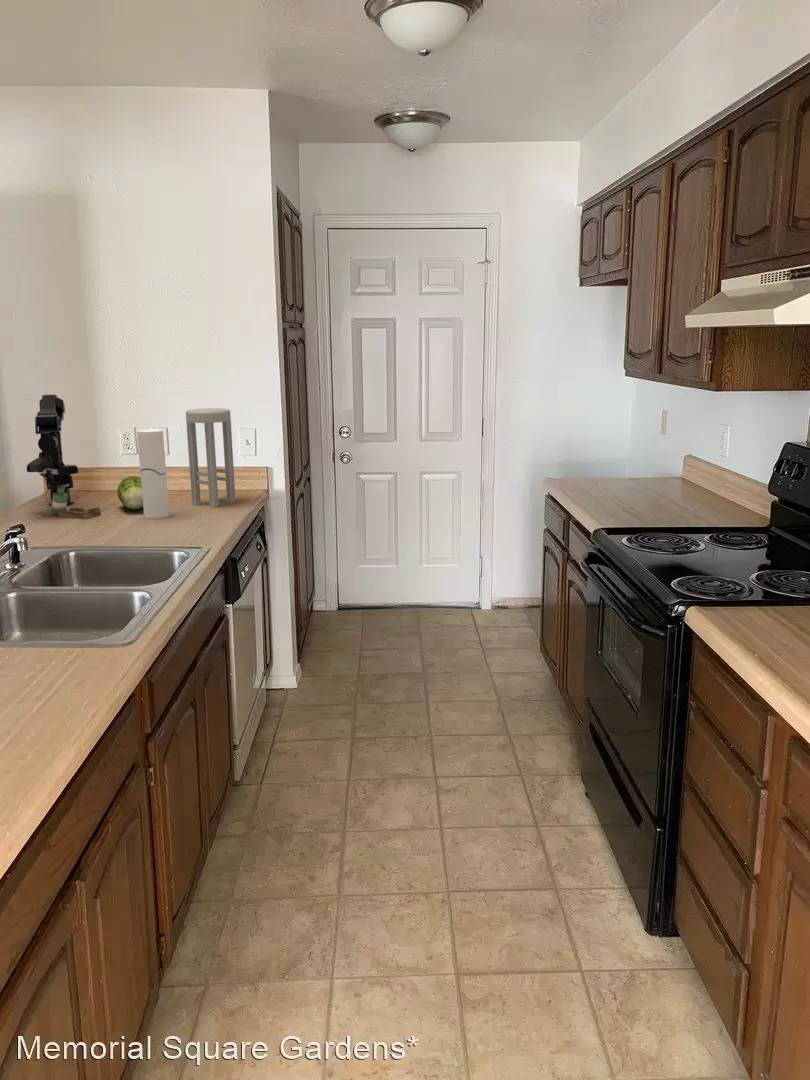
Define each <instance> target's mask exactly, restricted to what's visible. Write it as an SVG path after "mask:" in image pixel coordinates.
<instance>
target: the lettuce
mask: <svg viewBox="0 0 810 1080" xmlns="http://www.w3.org/2000/svg"><path fill="white" fill-rule="evenodd" d="M116 491H117V498H118V500H119V501H120V502H121V504H122V506H124V507H125V508H128V509H129V510H140V509H142V508H143V497H142V485H141V476H140V477H139V476H136V475H135V476H134V475H132V476H131V475H130V476H128V477H126V478H123V479H122V480H121V481H120V483H118V485H117V489H116Z"/></svg>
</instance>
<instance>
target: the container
mask: <svg viewBox="0 0 810 1080" xmlns="http://www.w3.org/2000/svg"><path fill="white" fill-rule="evenodd" d="M136 436H137V449H138V459H139V460H138V461H139V470H140V471H139V472H140V473H139V474H140V478H141V485H142V497H143V507H142V508H143V517H144V518H145V519H149V520H150V519H153V520H155V519H156V520H157V519H164V518H168V517H170V505H169V493H168V492H169V490H168V479H167V477H168V476H167V467H166V465H167V464H166V455H165V452H166V451H165V443H164V442H165V441H164V430H163V429H156V428H155V429H153V428H152V429H151V428H150V429H140V430H136Z"/></svg>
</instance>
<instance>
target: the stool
mask: <svg viewBox="0 0 810 1080" xmlns="http://www.w3.org/2000/svg"><path fill="white" fill-rule="evenodd" d="M231 417H232V415H231V410H230V409H228V408H221V407H219V408H217V407H216V408H214V407H213V408H212V407H211V408H210V407H209V408H194V409H188V410H185V420H186V422H185V423H186V435H187V436H186V437H187V449H188V452H187V453H188V463H189V464H188V466H189V478H190V492H191V493H190V494H191V504H192V505H193V506H194V505H195V506H198V505H202V499H201V486H200V485H206V486H207V487H208V497H209V498H208V499H209V507H210V508H217V507H220V505H219V490H218V489H219V487H218V481H223V482H225V488H226V489H225V490H226V503H227V504H233V503H234V504H235V503H236V488H235V487H236V485H235V471H234V470H235V469H234V452H233V451H234V450H233V435H232V433H233V432H232V420H231V419H232V418H231ZM214 423H221V424H222V426H221V427H222V440H223V442H222V444H223V457H224V469H223V468H217V458H216V457H217V456H216V441H215V439H216V438H215V426H214ZM196 424H204V436H205V439H204V440H205V453H206V469H207V472H205V471H204V472H203V471H199V459H198V458H199V457H198V441H197V430H196V429H197V426H196ZM217 473H220V474H221V473H222V474H224V475H225V477H224V476H223V477H221V476H218V474H217ZM200 477H207V480H203V479H200Z"/></svg>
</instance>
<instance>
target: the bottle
mask: <svg viewBox="0 0 810 1080" xmlns="http://www.w3.org/2000/svg"><path fill="white" fill-rule="evenodd" d="M57 488H58V490H57V492H54V493H53V499H52V505H51V510H50V512H51V513H52V514H53V515H56V516H59V512H58V511H60V510H66V511H67V496H68V495H67V494H66V493H64V489H65V486H63V485H58V486H57Z"/></svg>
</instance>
